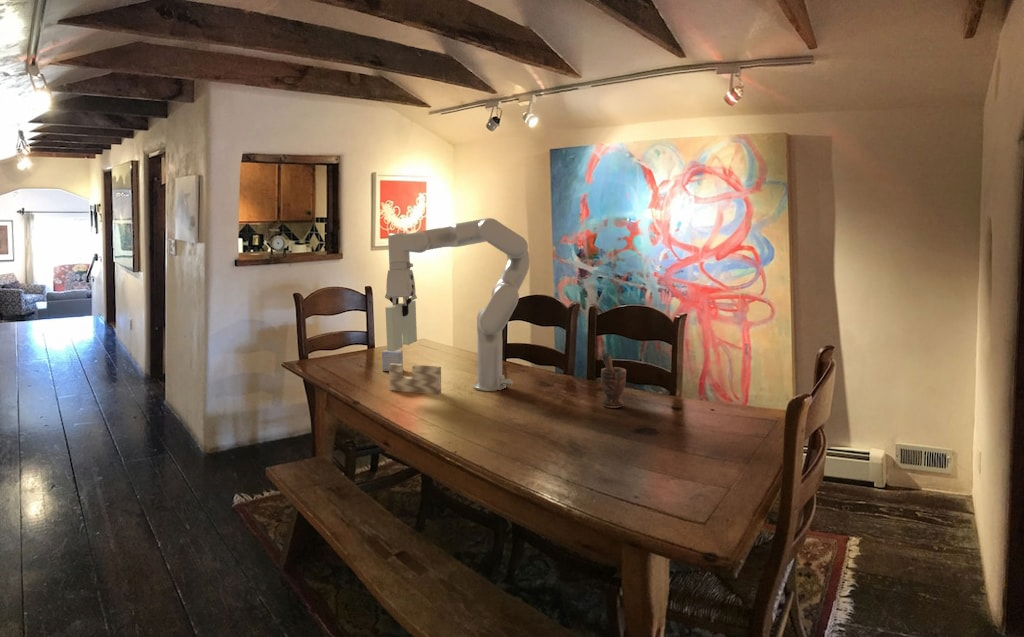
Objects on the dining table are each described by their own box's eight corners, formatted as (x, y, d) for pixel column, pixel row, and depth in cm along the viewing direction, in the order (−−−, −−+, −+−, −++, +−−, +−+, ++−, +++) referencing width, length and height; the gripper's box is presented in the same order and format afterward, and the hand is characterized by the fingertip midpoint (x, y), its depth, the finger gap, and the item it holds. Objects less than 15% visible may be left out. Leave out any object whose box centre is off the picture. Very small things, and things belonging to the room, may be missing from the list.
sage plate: (411, 340, 260) (409, 300, 258) (416, 341, 260) (415, 300, 257) (387, 351, 242) (385, 307, 239) (393, 351, 241) (391, 307, 238)
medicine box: (403, 370, 285) (402, 350, 284) (400, 372, 281) (400, 352, 280) (385, 369, 286) (384, 349, 285) (382, 371, 282) (381, 351, 280)
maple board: (441, 392, 249) (440, 366, 248) (438, 394, 247) (438, 368, 245) (392, 388, 255) (391, 363, 253) (389, 390, 252) (389, 364, 251)
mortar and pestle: (624, 413, 225) (626, 355, 222) (598, 411, 227) (600, 354, 224) (625, 403, 236) (627, 348, 233) (601, 402, 238) (602, 347, 235)
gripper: (423, 265, 247) (425, 314, 250) (384, 265, 252) (386, 313, 255) (415, 267, 240) (416, 318, 243) (375, 267, 245) (377, 316, 248)
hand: (401, 315), depth 249 cm, fingers closed on sage plate, 2 cm apart
